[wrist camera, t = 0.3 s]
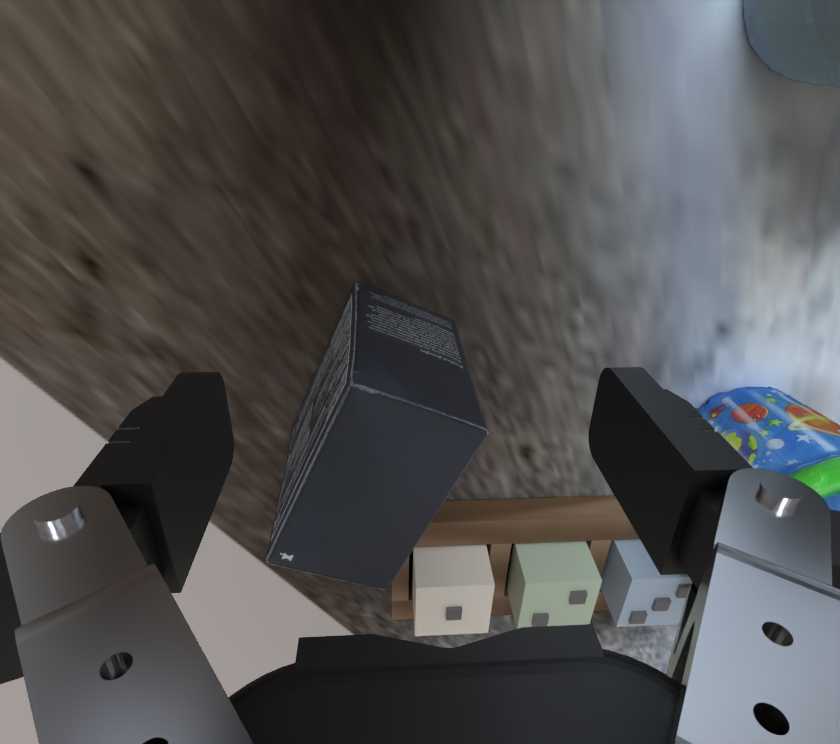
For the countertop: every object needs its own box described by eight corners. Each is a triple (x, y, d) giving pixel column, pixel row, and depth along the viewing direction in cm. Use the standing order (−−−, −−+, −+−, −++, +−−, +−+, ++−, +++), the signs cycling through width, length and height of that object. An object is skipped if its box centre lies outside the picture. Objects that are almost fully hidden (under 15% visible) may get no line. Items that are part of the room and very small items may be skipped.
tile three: (612, 537, 38) (634, 583, 34) (681, 534, 38) (709, 580, 35) (598, 584, 40) (617, 630, 37) (663, 581, 40) (687, 627, 37)
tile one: (413, 544, 37) (416, 592, 33) (485, 541, 37) (495, 588, 34) (412, 591, 39) (415, 640, 36) (479, 588, 40) (488, 636, 36)
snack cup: (699, 530, 40) (787, 663, 31) (593, 480, 37) (659, 613, 28) (880, 374, 34) (1055, 487, 25) (772, 296, 30) (930, 394, 22)
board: (390, 502, 37) (391, 524, 35) (701, 493, 38) (716, 513, 36) (391, 596, 42) (392, 619, 40) (664, 585, 43) (676, 607, 41)
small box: (387, 457, 35) (390, 599, 26) (290, 426, 33) (256, 566, 24) (463, 321, 30) (498, 436, 21) (354, 277, 28) (342, 381, 19)
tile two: (514, 540, 37) (527, 587, 34) (584, 538, 37) (603, 584, 34) (506, 587, 40) (517, 635, 36) (572, 585, 40) (589, 632, 37)
